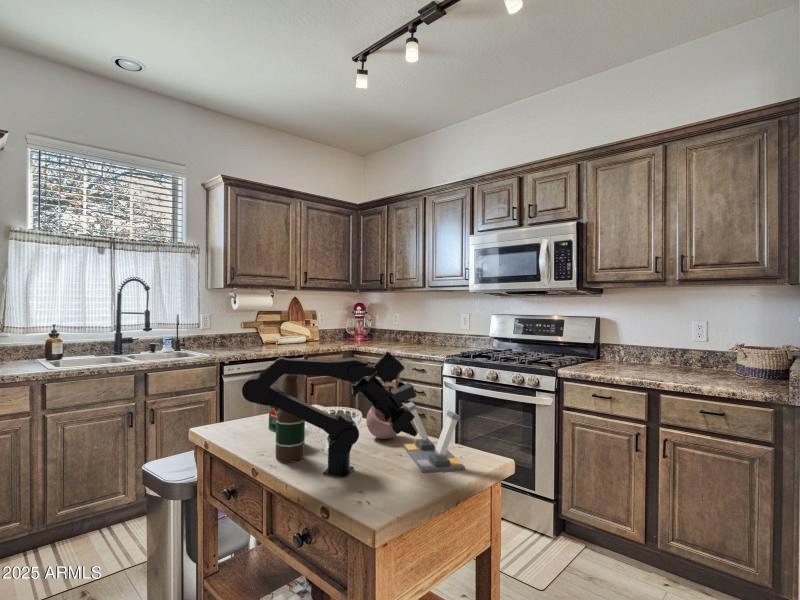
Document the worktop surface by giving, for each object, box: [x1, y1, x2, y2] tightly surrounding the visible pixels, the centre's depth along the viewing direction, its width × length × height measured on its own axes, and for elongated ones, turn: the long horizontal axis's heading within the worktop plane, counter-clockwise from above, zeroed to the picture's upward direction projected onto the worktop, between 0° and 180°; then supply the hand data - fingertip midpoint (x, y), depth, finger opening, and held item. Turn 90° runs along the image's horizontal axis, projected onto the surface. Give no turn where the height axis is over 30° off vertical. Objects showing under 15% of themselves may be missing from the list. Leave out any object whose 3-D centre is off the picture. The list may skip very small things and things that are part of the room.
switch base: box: [402, 438, 466, 473], centre depth 132 cm, size 12×22×2 cm, turn 13°
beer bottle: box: [275, 374, 305, 464], centre depth 128 cm, size 8×8×24 cm
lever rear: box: [404, 401, 430, 443], centre depth 138 cm, size 2×4×12 cm, turn 13°
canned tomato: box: [268, 406, 279, 432], centre depth 158 cm, size 8×8×11 cm
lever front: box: [435, 410, 461, 459], centre depth 125 cm, size 2×4×12 cm, turn 13°
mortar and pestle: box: [366, 405, 398, 440], centre depth 149 cm, size 12×12×12 cm
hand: (416, 435), depth 123 cm, fingers closed
